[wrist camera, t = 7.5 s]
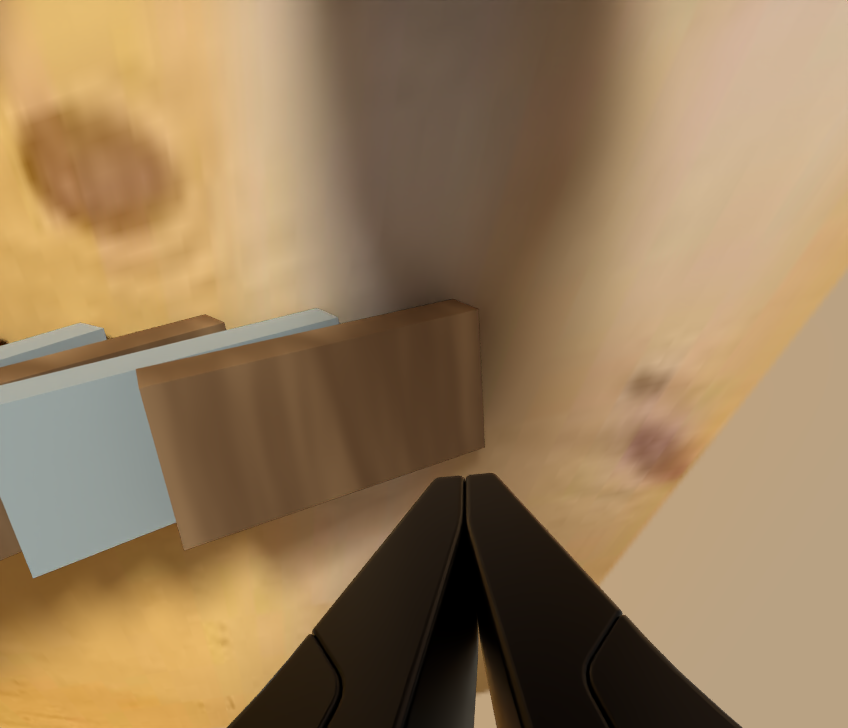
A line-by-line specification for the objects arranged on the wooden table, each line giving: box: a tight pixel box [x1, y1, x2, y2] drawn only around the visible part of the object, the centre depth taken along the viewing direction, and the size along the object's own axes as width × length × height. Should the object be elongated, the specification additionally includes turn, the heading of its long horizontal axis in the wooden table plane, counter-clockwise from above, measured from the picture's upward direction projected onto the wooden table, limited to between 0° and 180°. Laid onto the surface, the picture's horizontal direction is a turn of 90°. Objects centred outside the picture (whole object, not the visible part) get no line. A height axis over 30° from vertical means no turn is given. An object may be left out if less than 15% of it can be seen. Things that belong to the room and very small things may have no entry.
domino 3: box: [136, 299, 485, 550], centre depth 19 cm, size 2×5×10 cm
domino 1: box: [0, 315, 226, 560], centre depth 18 cm, size 2×5×10 cm
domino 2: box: [0, 308, 339, 578], centre depth 18 cm, size 2×5×10 cm
